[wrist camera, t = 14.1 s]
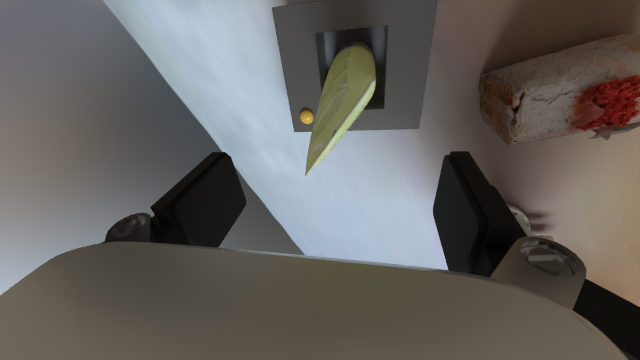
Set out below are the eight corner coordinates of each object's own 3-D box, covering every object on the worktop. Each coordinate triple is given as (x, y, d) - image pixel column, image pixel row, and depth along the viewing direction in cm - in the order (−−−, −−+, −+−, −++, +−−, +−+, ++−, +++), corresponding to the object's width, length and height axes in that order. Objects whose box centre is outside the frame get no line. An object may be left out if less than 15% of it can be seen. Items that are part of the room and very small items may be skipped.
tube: (376, 87, 31) (380, 173, 15) (337, 92, 32) (303, 178, 16) (374, 36, 27) (375, 79, 12) (330, 44, 29) (281, 93, 13)
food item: (640, 17, 23) (779, 25, 15) (617, 97, 27) (716, 136, 19) (477, 66, 28) (518, 92, 20) (477, 129, 32) (512, 170, 24)
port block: (428, -13, 24) (440, -16, 20) (413, 112, 32) (419, 130, 27) (286, 6, 27) (270, 7, 23) (303, 117, 35) (293, 133, 30)
